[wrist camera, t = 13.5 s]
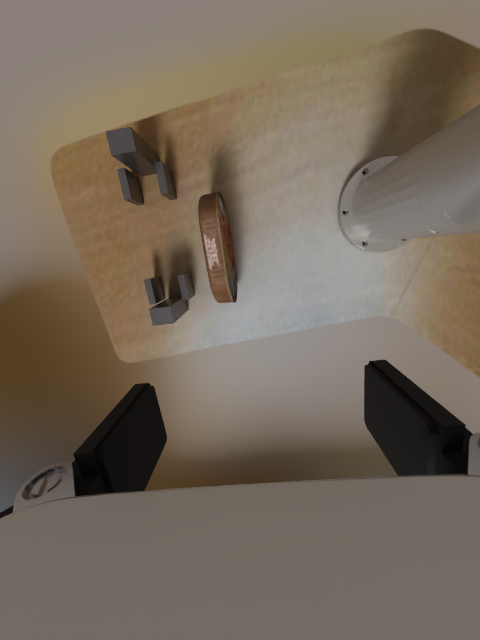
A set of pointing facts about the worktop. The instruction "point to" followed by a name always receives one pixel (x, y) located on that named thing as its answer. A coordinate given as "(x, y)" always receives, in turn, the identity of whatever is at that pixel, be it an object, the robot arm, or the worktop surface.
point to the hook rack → (143, 162)
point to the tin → (218, 247)
